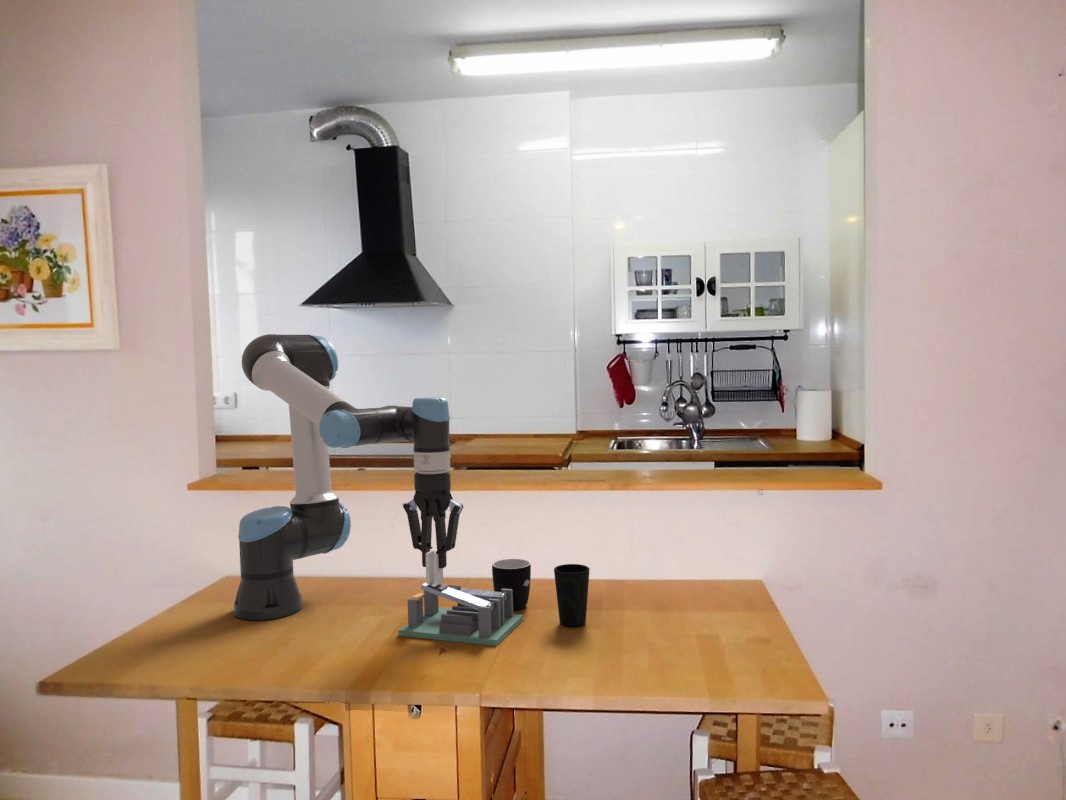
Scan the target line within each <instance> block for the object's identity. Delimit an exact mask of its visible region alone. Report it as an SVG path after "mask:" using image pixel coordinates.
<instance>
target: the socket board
mask: <svg viewBox="0 0 1066 800" xmlns="http://www.w3.org/2000/svg"><path fill="white" fill-rule="evenodd" d="M504 591H506V592H508V594H509V597H508V598H507V599H506V600H505V601H504V596H495V595H493V596H492V599H488V602H495V604H496V608H495V609H494V610H493V611H491V607H485V606H479V607H478V610H476V609H473V608H470V607H468V606H465V605H462V604H460V603H457V605H453V606H452V607H451V608H450V607H439V596H438V595H435V594H433V593H430V592H427V591H424V590H423V592H422V593H421V592H418V593H416V594H414V595H412V596H410V597H409V598H407V624H405V625H404V626H402V627H401V628H399V629H397V631H398V632H397V633H398V636H399V637H405V638H406V637H407V638H415V639H416V638H417V639H428V640H435V641H446V642H455V643H464V644H475V645H484V646H493V647H497V646H498V645H500V643H501V642H502V641H504V640H505V639H506V638H507V637H508V636H509V635H510V634H511V633H512V632H513V631H514V630H515V629H516V628H517V627H518V626H520V624H521V623H522V622H523V621H524V614H515V613H514V611H513V589H501V592H504Z"/></svg>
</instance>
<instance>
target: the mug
mask: <svg viewBox="0 0 1066 800" xmlns="http://www.w3.org/2000/svg"><path fill="white" fill-rule="evenodd" d="M531 566H532V564H531V562H530V561H529V560H527V559H523V558H522V559H521V558H504V559H499V560H496V561H493V563H492V564H491V568H492V569H491V572H492V574H491V575H492V576H491V577H492V584H493V585H492V586H493V591H494V592H501V589H513V612H515V611H520V610H523V609H525V608H526V607H527V605H528V602H529V597H530V590H531V577H532V576H531V572H532V567H531Z"/></svg>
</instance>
